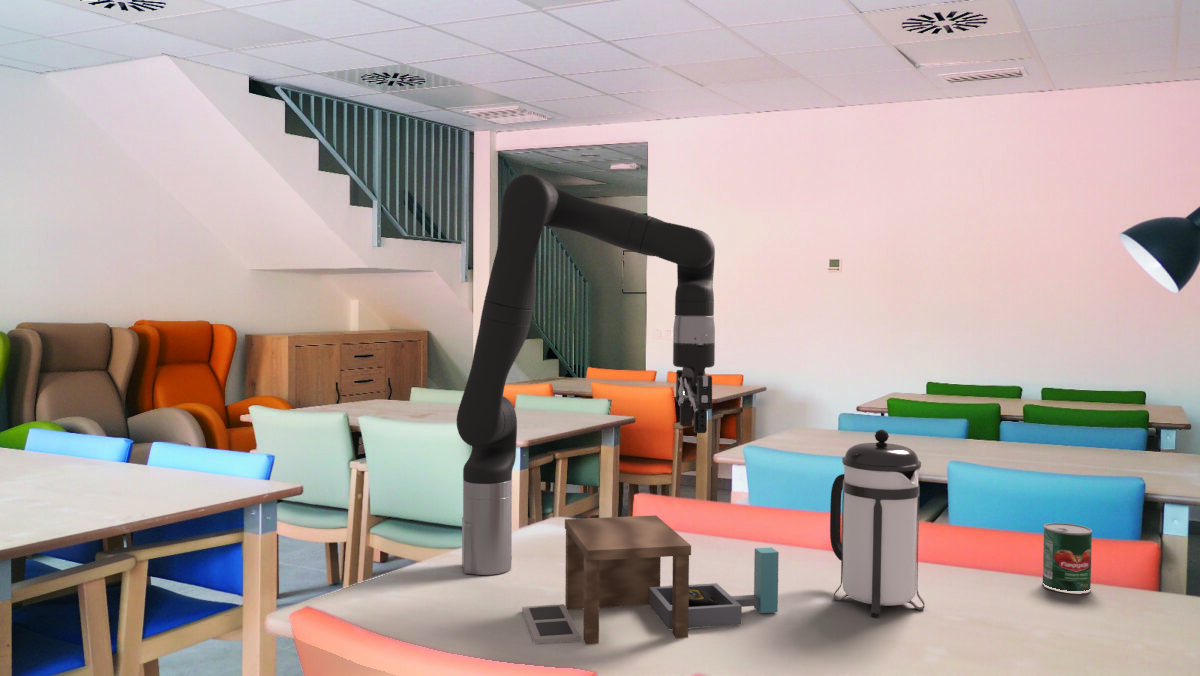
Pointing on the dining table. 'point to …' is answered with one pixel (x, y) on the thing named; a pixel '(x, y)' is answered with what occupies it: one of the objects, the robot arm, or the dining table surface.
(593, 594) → the small wooden table
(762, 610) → the slider
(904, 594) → the coffee press
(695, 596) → the tape measure
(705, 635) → the dining table surface
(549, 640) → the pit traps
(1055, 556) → the canned tomato
